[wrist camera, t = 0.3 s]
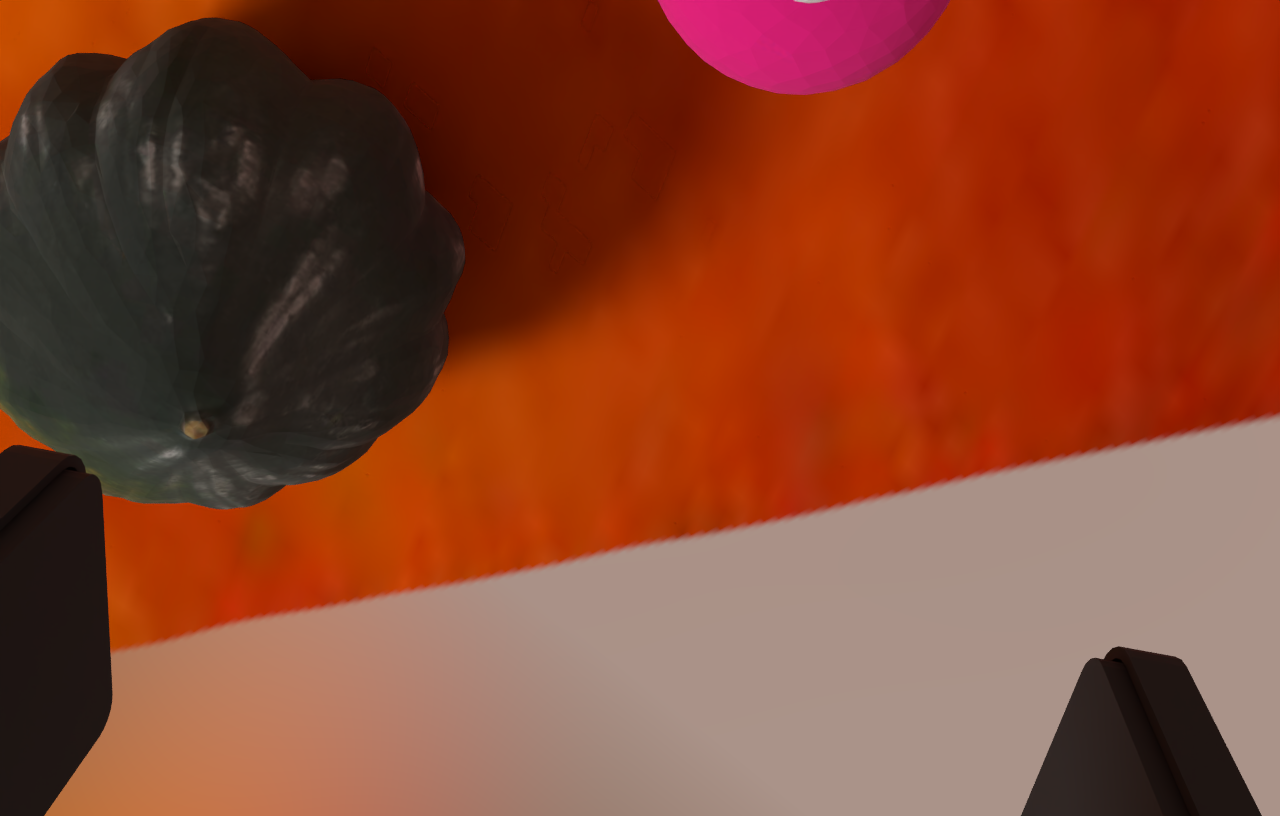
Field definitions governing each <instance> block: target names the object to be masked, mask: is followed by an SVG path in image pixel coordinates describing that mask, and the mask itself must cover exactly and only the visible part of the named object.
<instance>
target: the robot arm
mask: <svg viewBox="0 0 1280 816" xmlns="http://www.w3.org/2000/svg"><path fill="white" fill-rule="evenodd" d="M111 704H112V675H111V656H110V636H109V616H108V597H107V577H106V557H105V538H104V518H103V498H102V487H101V482H100V480H99V478H98V477H97V476H96V475H94V474H89V473H86V469H85V466H84V464H83V461H82V459H80V458H79V457H77V456H76V455H71V454H66V453H60V452H55V451H49V450H44V449H38V448H33V447H27V446H22V445H13V446H11V447H9V448H7V449H6V450H4V451H3V452H2V453H1V454H0V816H44V815H45V814H46V812H47V811H48V809H49V808H50V807H51V805H52V803H53V802H54V801H55V799H56V798H57V797H58V795H59V794H60V792H61V791H62V789H63V788H64V787H65V785H66V784H67V782H68V781H69V779H70V778H71V776H72V775H73V774H74V772H75V771H76V769H77V768H78V766H79V765H80V764H81V762H82V761H83V759H84V758H85V756H86V755H87V754H88V752H89V751H90V749H91V748H92V746H93V745H94V744H95V742H96V741H97V739H98V738H99V736H100V735H101V733H102V731H103V729H104V727H105V725H106V722H107V720H108V717H109V713H110V710H111ZM1021 816H1262V815H1261V813H1260V811H1259V809H1258V807H1257V805H1256V803H1255V801H1254V799H1253V797H1252V796H1251V793H1250V792H1249V789H1248V788H1247V785H1246V784H1245V782H1244V780H1243V778H1242V776H1241V774H1240V772H1239V770H1238V768H1237V766H1236V764H1235V762H1234V760H1233V758H1232V756H1231V754H1230V752H1229V750H1228V748H1227V746H1226V744H1225V742H1224V740H1223V738H1222V736H1221V734H1220V732H1219V730H1218V728H1217V726H1216V724H1215V722H1214V720H1213V718H1212V716H1211V714H1210V712H1209V710H1208V708H1207V706H1206V704H1205V702H1204V700H1203V698H1202V696H1201V694H1200V692H1199V690H1198V688H1197V686H1196V685H1195V682H1194V680H1193V678H1192V676H1191V674H1190V672H1189V671H1188V669H1187V667H1186V665H1185V664H1184V663H1183V661H1182V660H1181V659H1179V658H1177V657H1174V656H1168V655H1163V654H1157V653H1152V652H1146V651H1141V650H1135V649H1130V648H1125V647H1115V648H1112V649H1111V650H1110V651H1109V652H1108V653H1107V654H1106V656H1105V658H1104V659H1098V658H1092V659H1090V660H1089V661H1088V662H1087V663H1086V664H1085V666H1084V668H1083V670H1082V672H1081V675H1080V677H1079V679H1078V682H1077V684H1076V686H1075V689H1074V691H1073V693H1072V696H1071V698H1070V701H1069V703H1068V705H1067V708H1066V710H1065V712H1064V715H1063V717H1062V720H1061V722H1060V724H1059V727H1058V729H1057V732H1056V734H1055V736H1054V739H1053V741H1052V744H1051V746H1050V748H1049V751H1048V753H1047V756H1046V758H1045V760H1044V762H1043V765H1042V767H1041V769H1040V772H1039V774H1038V777H1037V779H1036V782H1035V784H1034V786H1033V788H1032V791H1031V793H1030V796H1029V798H1028V800H1027V803H1026V805H1025V808H1024V810H1023V812H1022V815H1021Z"/></svg>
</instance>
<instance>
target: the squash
mask: <svg viewBox="0 0 1280 816" xmlns="http://www.w3.org/2000/svg"><path fill="white" fill-rule="evenodd" d="M464 264H465V247H464V241H463V237H462V234H461V231H460V228H459V226H458V225H457V223H456V222H455V220H454V218H453V217H452V215H451V214H450V213H449V212H448V211H447V210H446V209H445V208H444V207H443V206H442V205H441V204H440V203H439V202H438V201H437V200H436V199H435V198H434V197H433V196H432V195H431V194H430V193H429V192H428V191H426V190H425V184H424V174H423V169H422V165H421V161H420V157H419V153H418V149H417V146H416V143H415V141H414V138H413V135H412V133H411V130H410V128H409V127H408V125H407V123H406V121H405V120H404V118H403V117H402V116H401V114H400V113H399V111H398V110H397V109H396V108H395V106H394V105H393V104H392V103H391V102H390V101H389V100H388V99H387V98H386V97H385V96H384V95H383V94H382V93H380V92H379V91H377V90H376V89H374V88H371V87H369V86H366V85H363V84H361V83H358V82H355V81H353V80H346V79H320V80H311V79H309V78H308V77H307V76H306V75H305V74H304V73H303V72H302V71H301V70H300V69H299V68H298V67H297V66H296V65H295V64H294V63H293V62H292V61H291V60H290V59H289V58H288V56H287V55H286V54H284V53H283V52H282V51H281V50H280V49H279V48H278V47H277V46H276V45H275V44H273V43H272V42H271V41H269V40H268V39H267V38H266V37H264V36H263V35H262V34H261V33H259V32H258V31H257V30H255V29H254V28H252V27H250V26H248V25H246V24H244V23H242V22H238V21H232V20H226V19H221V18H202V19H199V20H195V21H190V22H188V23H185V24H182V25H180V26H177V27H174V28H172V29H169V30H167V31H166V32H165V33H164V34H162V35H161V36H160V37H158V38H157V39H156V40H154V41H153V42H151V43H150V44H148V45H147V46H145V47H144V48H142V49H140V50H138V51H137V52H135V53H133V54H132V55H131V56H130V57H129V58H128V59H125V58H121V57H117V56H113V55H108V54H99V53H76V54H72V55H67V56H66V57H64V58H62V59H60V60H59V61H58V62H57V63H56V64H55V65H54V66H53V67H52V68H51V69H50V70H49V71H48V72H47V73H46V74H45V75H43V76H42V77H41V78H40V79H39V80H38V81H37V82H36V83H35V85H34V86H33V87H32V88H31V89H30V91H29V92H28V93H27V94H26V96H25V98H24V101H23V103H22V105H21V107H20V109H19V111H18V113H17V115H16V117H15V120H14V122H13V125H12V128H11V132H10V135H9V136H8V137H6V138H5V139H3V140H2V141H0V409H1V410H2V411H4V412H5V413H6V414H8V415H9V416H10V417H11V419H12V420H13V421H14V422H15V423H16V425H17V426H18V427H19V428H20V429H22V430H23V431H24V432H26V433H27V434H28V435H30V436H31V437H32V438H34V439H35V440H37V441H39V442H41V443H43V444H45V445H47V446H48V447H50V448H52V449H53V450H55V451H56V452H60V453H66V454H71V455H76V456H77V457H79V458H80V459H82V461H83V464H84V466H85V469H86V473H89V474H94V475H96V476H97V477H98V478H99V480H100V482H101V487H102V494H104V495H107V496H114V497H121V498H124V499H127V500H130V501H132V502H138V503H187V502H189V503H193V504H197V505H201V506H205V507H209V508H215V509H232V508H238V507H248V506H252V505H255V504H257V503H259V502H262V501H264V500H266V499H268V498H269V497H271V496H272V495H273V494H275V493H276V492H278V491H279V490H281V489H282V488H283V487H285V486H286V485H296V484H302V483H307V482H312V481H317V480H320V479H323V478H325V477H328V476H331V475H333V474H335V473H337V472H339V471H341V470H343V469H344V468H346V467H347V466H349V465H350V464H352V463H353V462H354V461H356V460H357V459H359V458H360V457H361V456H362V455H363V454H365V453H366V452H367V451H368V450H369V448H370V447H371V446H372V444H373V443H374V442H375V441H376V439H377V438H378V437H379V436H381V435H383V434H384V433H386V432H387V431H389V430H390V429H391V428H393V427H394V426H395V425H397V424H398V423H399V422H401V421H402V420H403V419H405V418H406V417H407V416H409V415H410V414H411V413H413V412H414V411H415V409H416V408H417V407H418V406H419V405H420V404H421V403H422V402H423V401H424V399H425V398H426V397H427V395H428V394H429V393H430V391H431V389H432V387H433V385H434V383H435V381H436V379H437V377H438V375H439V373H440V371H441V370H442V368H443V365H444V362H445V360H446V357H447V355H448V343H449V334H448V325H447V320H446V318H445V315H444V311H445V309H446V307H447V305H448V304H449V302H450V300H451V297H452V295H453V292H454V289H455V286H456V284H457V282H458V280H459V279H460V277H461V275H462V272H463V268H464Z"/></svg>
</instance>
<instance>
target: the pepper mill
mask: <svg viewBox="0 0 1280 816" xmlns="http://www.w3.org/2000/svg"><path fill="white" fill-rule="evenodd" d="M658 1H659V3H660V5H661V7H662V9H663V11H664V13H665V15H666V17H667V19H668V20H669V22H670V23H671V24H672V26H673V27H674V28H675V30H676V31H677V32H678V34H679V35H680V36H681V37H682V39H683V40H684V41H685V43H686V44H687V45H688V46H689V47H690V48H691V49H692V50H693V51H694V52H695V53H696V54H697V55H698V56H699V57H700V58H701V59H703V60H704V61H705V62H706V63H708V64H709V65H711V66H712V67H714V68H715V69H717V70H718V71H720V72H721V73H723V74H724V75H726V76H728V77H730V78H732V79H735V80H737V81H739V82H742V83H744V84H746V85H748V86H751V87H755V88H759V89H763V90H766V91H770V92H774V93H782V94H800V95H808V94H814V93H821V92H828V91H834V90H838V89H841V88H844V87H847V86H850V85H853V84H856V83H860V82H863V81H866V80H868V79H869V78H871V77H873V76H874V75H876V74H878V73H879V72H881V71H883V70H884V69H886V68H888V67H889V66H891V65H893V64H894V63H896V62H898V61H899V60H900V59H901V58H902V57H903V56H904V55H906V54H907V53H908V52H909V51H910V50H911V49H912V48H914V47H915V45H916V44H917V43H918V42H919V41H920V40H921V39H922V38H923V37H924V36H925V35H926V34H927V33H928V32H929V31H930V29H931V28H932V27H933V25H934V24H935V23H936V21H937V20H938V18H939V17H940V16H941V14H942V13H943V12H944V10H945V9H946V7H947V5H948V3H949V1H950V0H658Z"/></svg>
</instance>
